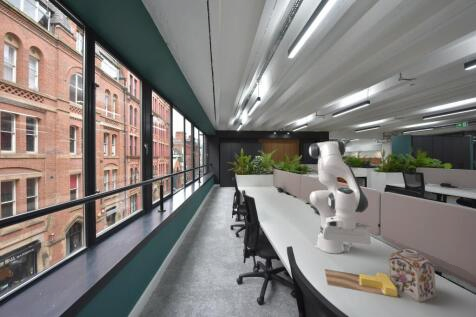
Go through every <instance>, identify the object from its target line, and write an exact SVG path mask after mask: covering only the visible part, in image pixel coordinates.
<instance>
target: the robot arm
mask: <svg viewBox="0 0 476 317" xmlns="http://www.w3.org/2000/svg"><path fill="white" fill-rule="evenodd" d="M308 153H309V156H310V157H311V158H313V159H318V161H317V172H318V182H320V183H321V184H322V185H323V186H326V188H327V189H326V190H325V189H323V190H322V189H321V190H320V189H318V190H315V191H311V193H310V194H309V202H310V203H311V205H312V206H314V207H315V208H316V209H317V211H318V212H319V216H320V232H319V234H317V241H316V244H315V245H314V246H315V248H316V249H319V250H320V251H323V252H325V253H328V254H334V255H335V254H341V253H345V252H350V248H352V246H353V244H359V245H365V246H369V245H370V244H371V230H372V228H371V226H370V225H368V224H367V223H360V222H359V223H358V222H357V215H356V213H360V214H361V213H363V212H364V211H366V210H367V209H368V207H369V201H368V197H367V196H366V194H365V193H364V192H363V190H362V188H361V186H360V184H359V181H358V179H357V177H356V175H355V173H354V171H353V169H352V168H351V167H350V166H349V165H347V164H346V162H344V160H343V158H342V157H343V156H344V155H345V154H346V146H345V143H344V142H343V141H339V140H336V141H335V140H333V141H331V140H330V141H323V142H321V141H320V142H317V143H316V142H315V143H312V144H310V146H309V149H308ZM337 177H339V178H341V179H343V180H344V181H346V183H347V185H348V187H349V188H348V187H341V185H340V184H339V182H338V178H337ZM332 210H333V211H335V212H333V211H332ZM344 243H347V245H346V246H345V245H344Z"/></svg>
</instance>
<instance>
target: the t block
mask: <svg viewBox="0 0 476 317" xmlns="http://www.w3.org/2000/svg"><path fill="white" fill-rule="evenodd" d="M375 274H376V276H374V275H369V274H363V273H359V274H358V275H359V280H360V283H361V285H364V286H369V287H375V288H380V289H383V291H384V292H385V294H386V295H390V296H396V297H397V292H398V288H396V287H395V286H394V284H393V283H392V282H391V280H390V279H389V275H387V273H381V272H376V273H375ZM390 296H389V297H390ZM396 297H395V298H396Z"/></svg>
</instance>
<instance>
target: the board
mask: <svg viewBox="0 0 476 317" xmlns="http://www.w3.org/2000/svg"><path fill="white" fill-rule="evenodd" d="M324 271H325V278H326V283H327V285H328V286H332V287H337V288H342V289H347V290H348V289H349V290H353V291H360V292H364V293H370V294H375V295H379V296H386V297H390V298H397V299H400V300H401V299H403V298H402V296H401V295H400V294H399V292H398V291H397V297H396V296H390V295H386V294H385V292H384V291H383V289H380V288H375V287H369V286H364V285H361V283H360V280H359V274H357V273H353V272H345V271H340V270H334V269H326V268H324Z"/></svg>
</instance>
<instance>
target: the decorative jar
mask: <svg viewBox="0 0 476 317" xmlns="http://www.w3.org/2000/svg"><path fill="white" fill-rule="evenodd" d="M388 277H389V279H390V280H391V282H392V283H393V284H394V286H395V287H396V289H397V290H399V291H401V292H403V293H405V294H407V295H409V297H410V298H412V300H413V301H415V302H417V303H419V304H420V303H422V302H425V301H427V300H431V299H433V298H436V276H435V265H434V263H432V261H430V260H429V259H428V258H427V257H425V256H424V255H421V254H418V252H417V251H416V250H413V249H408V248H405V249H403V250H401V249H400V250H399V249H398V250H395V251H393V252H392V253H391V254H390V256H389V257H388Z"/></svg>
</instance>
